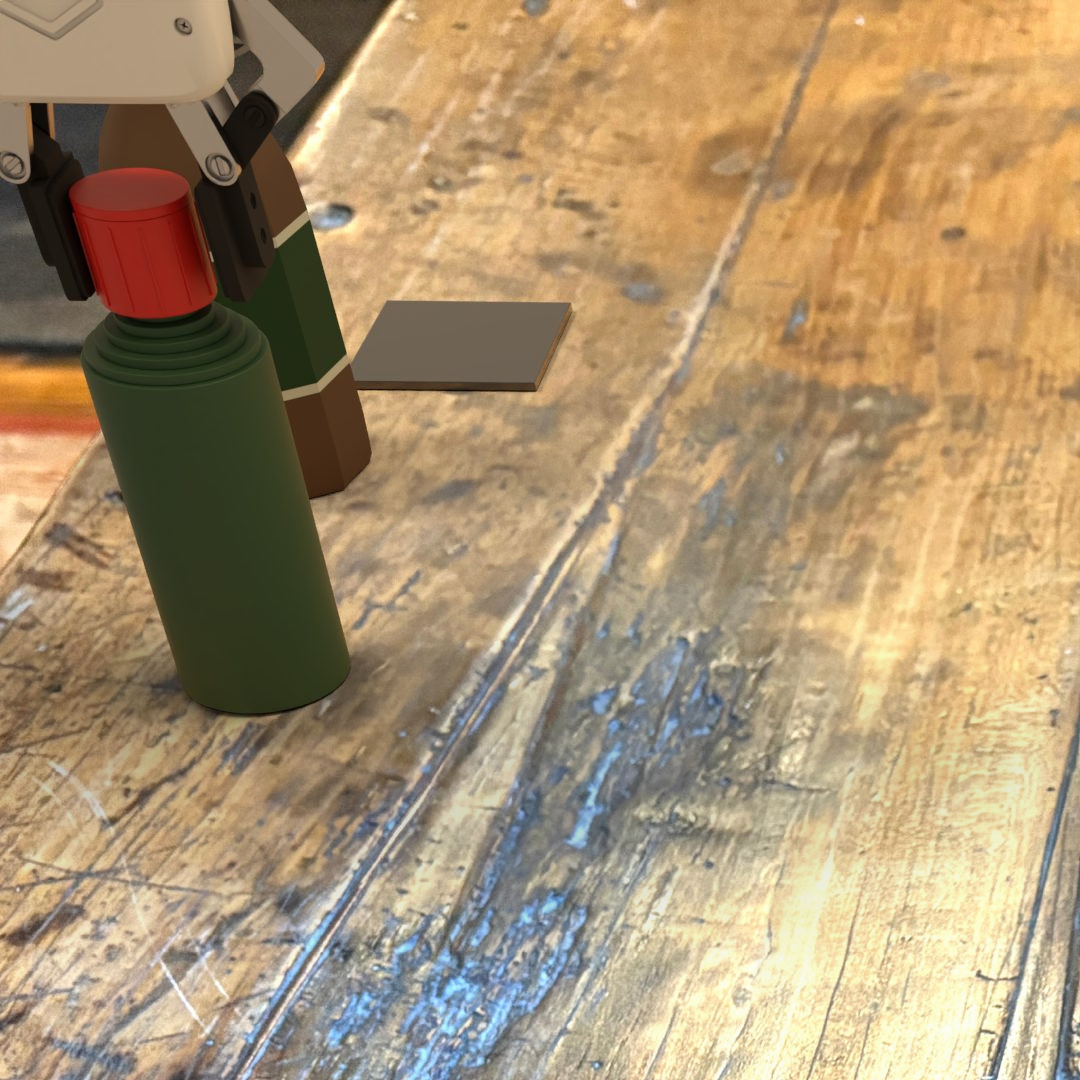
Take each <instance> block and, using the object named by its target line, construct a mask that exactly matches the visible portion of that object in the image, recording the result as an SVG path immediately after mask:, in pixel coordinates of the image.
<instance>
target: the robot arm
mask: <svg viewBox="0 0 1080 1080" xmlns="http://www.w3.org/2000/svg"><path fill="white" fill-rule="evenodd" d="M249 51H250V52H251V53H252V54H253V55H254V56H255V57H256V58H257V59H258V61H259V62H260V63H261V66H262V74H261V75H260V76H259V78H258V79H257V80H255V81H254V82H253V83H252V84H251V85H250V87H248V90H247V91H246V92H245V93H244V95H243V96H242V98H240V99H241V100H240V102H239V101H238V99H237V97H236V95H237V94H236V93H235V92H234V90H233V88H232V86H231V84H230V82H229V81H228V79H229V77H230V76H231V75H232V74H233V73H234V68H235V59H236V58H239V57H241V56H243V55H245V54H246V53H248V52H249ZM325 70H326V63H325V59H324V56H323V55H322V54H321V52H320V51H318V49H317V48H316V47H315V46H313V44H312V43H311V42H310V41H309V40H308V39H307V38H306V37H305V36H304V35H303V34H302V33H301V32H300V31H299V30H298V29H297V28H296V27H295V26H294V25H293V24H292V23H291V22H290V21H289V20H288V19H287V18H286V17H285V16H284V15H283V14H282V13H281V12H280V10H278V9H277V8H276V7H275V6H274V4H272V3H271V2H270V1H269V0H0V177H1V179H3V180H5V181H6V182H8V183H11V184H14V185H15V184H16V187H17V190H18V193H19V196H20V199H21V201H22V204H23V207H24V210H25V212H26V215H27V219H28V222H29V224H30V228H31V231H32V233H33V235H34V238H35V241H36V244H37V246H38V250H39V253H40V255H41V257H42V260H43V261H44V264H45V265H47V266H48V267H51V268H55V269H56V270H55V271H56V272H57V275H58V278H59V281H60V284H61V287H62V290H63V293H64V295H65V297H66V299H67V300H68V301H70V302H86V301H88V300H89V298H91V297H93V296H94V294H95V293H96V290H95V287H94V283H93V280H92V277H91V273H90V270H89V267H88V264H87V260H86V257H85V254H84V250H83V247H82V244H81V241H80V237H79V234H78V231H77V227H76V224H75V221H74V218H73V214H72V212H74V211H73V208H72V204H71V201H70V198H69V190H70V188H71V187H72V186H73V185H74V184H75V183H76V182H77V181H79V180H81V179H83V178H85V177H86V176H85V174H84V170H83V167H82V165H81V162H80V161H79V160H78V159H76V158H75V155H74V154H73V151H68V150H67V151H65V150H63V151H62V148H61V145H60V143H59V142H58V141H57V138H56V125H55V111H54V104H86V105H87V104H88V105H89V104H91V105H92V104H93V105H95V104H96V105H97V104H98V105H101V104H102V105H103V104H104V105H110V104H165V105H166V107H167V109H168V111H169V112H170V114H171V116H172V118H173V119H174V121H175V123H176V125H177V126H178V128H179V130H180V132H181V133H182V135H183V137H184V139H185V140H186V142H187V144H188V146H189V147H190V149H191V151H192V153H193V154H194V156H195V158H196V160H197V161H198V166H199V169H200V172H201V176H202V178H201V180H200V181H199V182H198V184H197V185H196V187H195V188H194V197H195V201H196V204H197V208H198V211H199V214H200V218H201V221H202V224H203V227H204V231H205V234H206V237H207V240H208V244H209V247H210V250H211V253H212V257H213V260H214V263H215V266H216V270H217V273H218V276H219V280H220V283H221V286H222V289H223V293H224V295H225V297H226V298H230V299H231V301H232V302H249V301H250V300H251V298H252V297H253V295H254V293H255V292H256V290H257V289H258V287H259V286H260V284H261V282H262V281H263V279H264V278H265V276H266V274H267V272H268V268H270V267H271V265H272V264H273V262H274V258H275V248H274V242H273V238H272V234H271V231H270V228H269V224H268V221H267V217H266V214H265V210H264V207H263V203H262V200H261V196H260V193H259V189H258V186H257V182H256V179H255V175H254V172H253V169H252V165H251V162H250V160H251V159H252V157H253V156H254V155H255V153H256V152H257V150H258V149H259V147H260V146H261V145H262V143H263V142H264V140H265V139H266V137H267V136H268V134H269V133H270V132H271V133H272V130H273V129H274V128H275V126H276V125H278V123H279V122H280V121H281V120H282V119H284V117H285V116H286V115H287V114H288V113H290V112H291V110H292V109H293V108H294V107H295V106H296V105H297V104H298V103H299V102H300V101H301V100H302V99H303V98H304V97H306V95H307V94H308V93H309V92H310V91H311V90H312V89H313V88H314V87H315V85H316V83H317V82H318V81H319V79H320V78H321V77H322V75H323V74H324V71H325ZM235 94H236V95H235Z"/></svg>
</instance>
